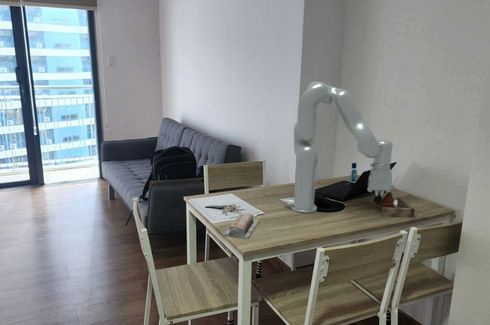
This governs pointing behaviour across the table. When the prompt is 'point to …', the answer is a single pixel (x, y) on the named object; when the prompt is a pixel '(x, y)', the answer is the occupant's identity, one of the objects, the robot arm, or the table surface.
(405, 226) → the table surface
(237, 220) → the packaged product
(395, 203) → the poop emoji
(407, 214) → the walnut bay
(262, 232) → the table surface
